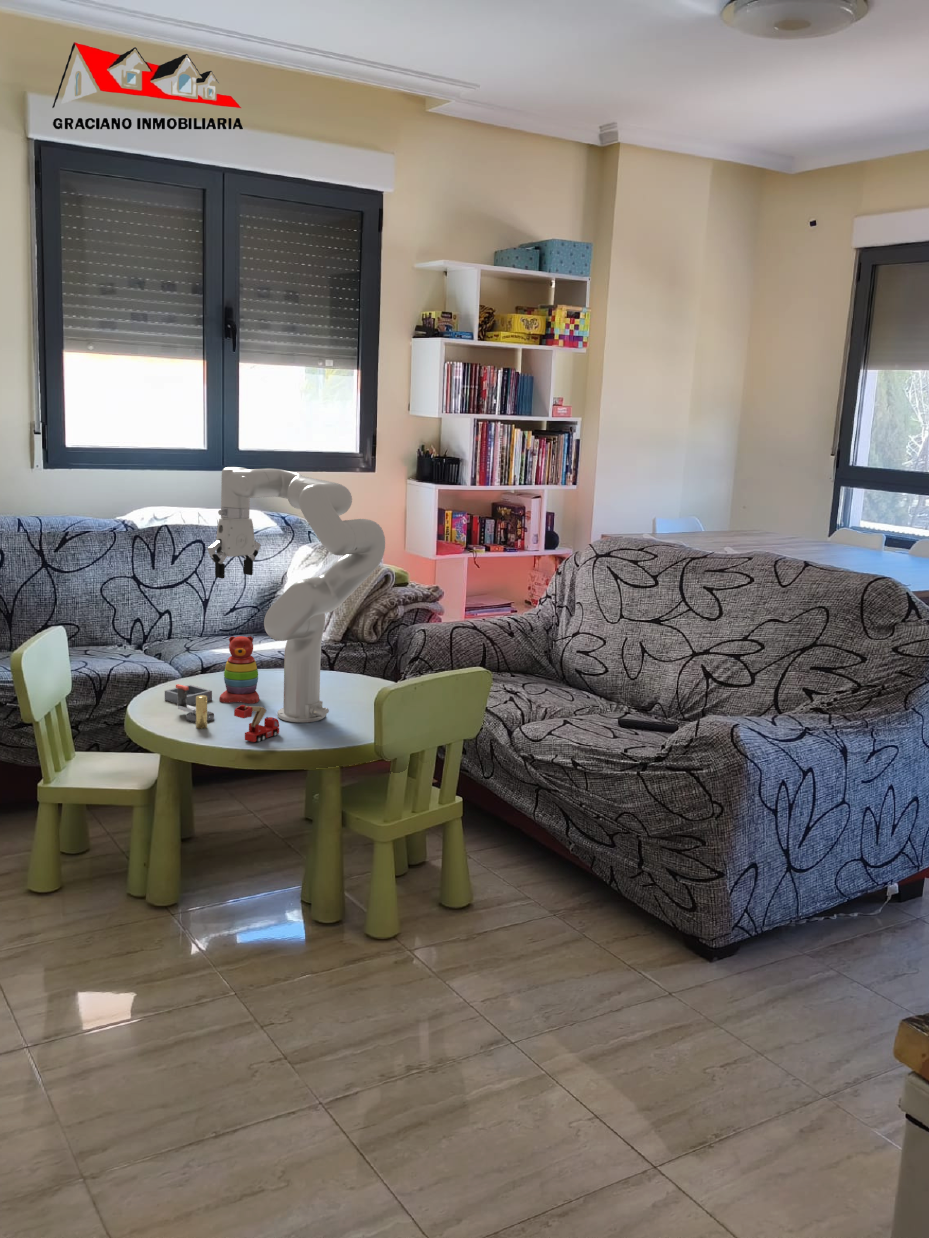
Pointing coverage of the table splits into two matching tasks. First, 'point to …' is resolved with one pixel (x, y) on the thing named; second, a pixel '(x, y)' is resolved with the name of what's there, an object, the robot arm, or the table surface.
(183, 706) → the crank
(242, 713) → the toy fire truck
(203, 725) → the pin
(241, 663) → the stacking bear
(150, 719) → the table surface
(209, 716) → the hub
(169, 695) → the tray
